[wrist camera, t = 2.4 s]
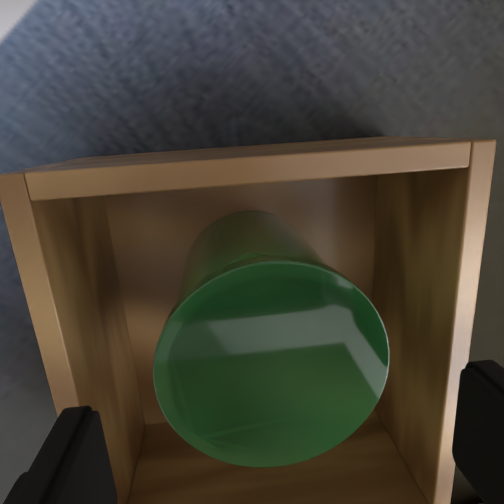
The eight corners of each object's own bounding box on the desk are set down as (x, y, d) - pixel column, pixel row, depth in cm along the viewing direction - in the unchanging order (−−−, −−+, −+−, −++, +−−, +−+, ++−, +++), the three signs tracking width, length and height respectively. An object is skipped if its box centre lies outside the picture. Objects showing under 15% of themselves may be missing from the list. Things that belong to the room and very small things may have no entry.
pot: (179, 200, 18) (151, 255, 10) (327, 208, 19) (412, 266, 11) (177, 335, 20) (152, 471, 12) (310, 337, 21) (369, 467, 13)
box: (84, 156, 18) (-8, 174, 10) (386, 135, 19) (498, 139, 12) (136, 427, 23) (98, 570, 15) (375, 398, 24) (449, 520, 16)
